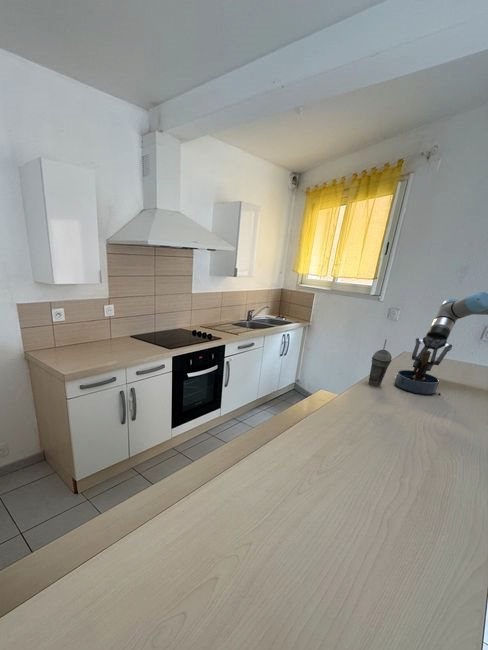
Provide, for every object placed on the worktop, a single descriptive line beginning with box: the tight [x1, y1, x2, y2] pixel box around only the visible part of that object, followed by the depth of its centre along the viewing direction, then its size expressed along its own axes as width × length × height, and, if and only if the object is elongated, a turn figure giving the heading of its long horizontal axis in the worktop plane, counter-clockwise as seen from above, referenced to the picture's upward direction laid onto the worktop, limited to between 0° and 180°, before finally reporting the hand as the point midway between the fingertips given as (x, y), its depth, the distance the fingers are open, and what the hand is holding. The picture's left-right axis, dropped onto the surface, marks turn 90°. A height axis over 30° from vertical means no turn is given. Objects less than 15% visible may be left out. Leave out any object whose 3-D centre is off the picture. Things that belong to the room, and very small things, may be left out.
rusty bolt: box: [412, 350, 432, 382], centre depth 137 cm, size 5×5×15 cm
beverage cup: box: [368, 338, 392, 387], centre depth 137 cm, size 7×7×20 cm
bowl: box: [393, 369, 441, 395], centre depth 138 cm, size 15×15×6 cm
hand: (418, 374), depth 135 cm, fingers closed on rusty bolt, 3 cm apart
